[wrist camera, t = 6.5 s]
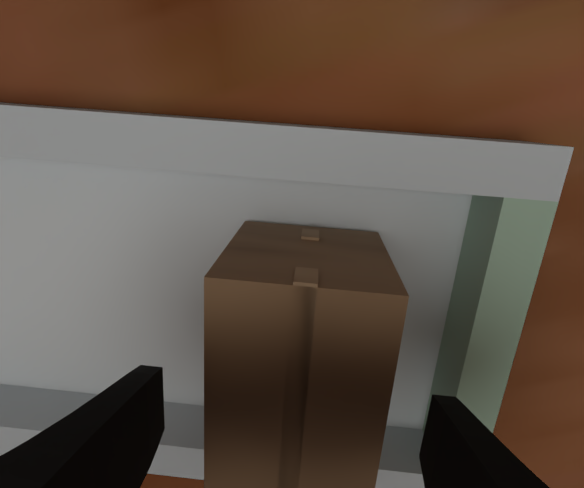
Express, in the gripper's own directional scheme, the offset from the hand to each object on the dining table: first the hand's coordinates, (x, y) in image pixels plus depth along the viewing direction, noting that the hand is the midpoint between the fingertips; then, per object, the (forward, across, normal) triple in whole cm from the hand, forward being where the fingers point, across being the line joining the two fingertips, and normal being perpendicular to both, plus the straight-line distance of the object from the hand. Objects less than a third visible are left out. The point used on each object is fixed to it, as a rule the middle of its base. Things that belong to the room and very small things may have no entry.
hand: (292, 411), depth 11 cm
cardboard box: (+6, 0, 0) cm, 6 cm away
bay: (+7, +5, 0) cm, 8 cm away
